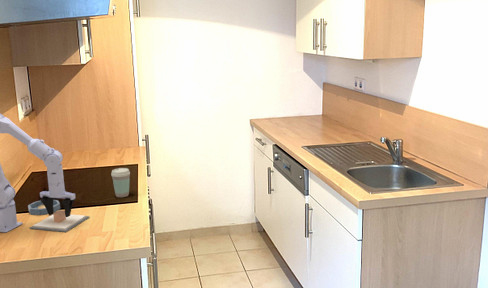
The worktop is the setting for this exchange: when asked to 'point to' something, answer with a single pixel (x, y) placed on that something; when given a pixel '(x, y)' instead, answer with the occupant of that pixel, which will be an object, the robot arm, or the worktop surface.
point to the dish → (42, 208)
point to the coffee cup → (121, 181)
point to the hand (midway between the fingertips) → (59, 215)
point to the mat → (59, 229)
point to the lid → (59, 221)
